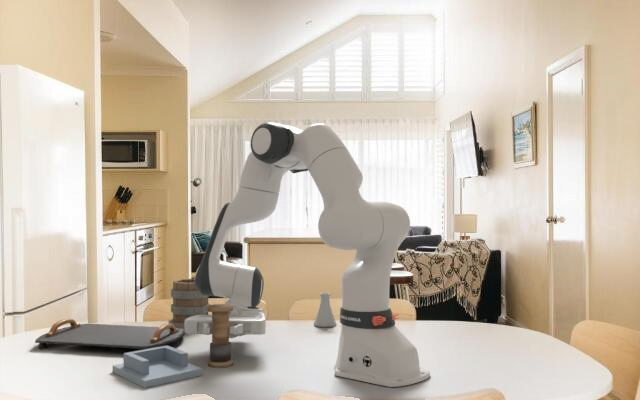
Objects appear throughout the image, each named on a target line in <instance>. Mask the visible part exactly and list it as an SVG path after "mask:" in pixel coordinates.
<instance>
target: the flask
mask: <svg viewBox="0 0 640 400" xmlns="http://www.w3.org/2000/svg"><path fill="white" fill-rule="evenodd" d="M319 296H320V301H319V303H320V304H319V307H318V311H317V313H316V316H315V319H314V322H313V326H315V327H320V328H321V327H322V328H329V327H332V328H333V327H335V326H337V325H338V324H337V322H336V320H335V317H334V314H333V313H334V312H333V310H332V307H331V303H330V296H331V293H329V292H320V293H319Z"/></svg>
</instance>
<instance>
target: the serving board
mask: <svg viewBox="0 0 640 400" xmlns="http://www.w3.org/2000/svg"><path fill="white" fill-rule="evenodd" d="M67 324H70V326H66V327H65V326H64V327H62V326H63V325H67ZM60 327H62V328H60ZM185 335H186V333H185V330H184V329H183V328H175V326H174V325H173V324H169V323H164V324H162V325H160V326H146V325H145V326H144V325H124V324H123V325H122V324H120V325H119V324H100V323H78V322H77V321H76V320H75V319H73V318H64V319H61V320H58V321H56V322H55V323H54V324H52V325H51V328H50V329H49V331H48V332H46V333H44V334H42V335H40V336H39V337H37V338H36V339H35V340H34V343H36V344H38V345H37V348H38V349H40V350H43V349H47V347H48V344H51V345H66V346H67V345H68V346H69V345H70V346H71V345H72V346H83V347H102V348H103V347H104V348H124V349H126V348H127V349H137V350H145V349H150V348H156V347H162V346H166V345H169V344H171V343H174V342H176V341H178V340H183V339H184V336H185Z"/></svg>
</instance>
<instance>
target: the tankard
mask: <svg viewBox="0 0 640 400" xmlns="http://www.w3.org/2000/svg"><path fill="white" fill-rule="evenodd" d="M170 296H171V298H172V304H170V312H171V313H172V318H171V319H168V324H173V325H174V326H175V328H183V329H184V322H185V319H187V318H189V317H191V316H194V315H209V311H208V306H209V305H211V304H210V303H209V298H210V296H207V295H202V294H201V293H200V292H199V290H198V289H197V288H196V286H195V278H185V279H184V278H181V279H176V280H173V282H172V288H171V289H170Z"/></svg>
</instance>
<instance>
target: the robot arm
mask: <svg viewBox="0 0 640 400" xmlns="http://www.w3.org/2000/svg"><path fill="white" fill-rule="evenodd" d="M250 149H251V152H249V154H248V155H247V157H246V161H245V162H244V166H243V168H242V171H241V176H240V179H239V184H238V185H239V186H238V189H237V192H236V194H235V196H234V198H233V199H232V200H231V201H229V202H226V203H225V204H224V205H223V206H222V208H221V210H220V212H219V214H218V216H217V219H216V222H215V223H214V227H213V230H212V232H211V235H210V238H209V240H208V243H207V246H206V248H205V251H204V254H203V257H202V259H201V262H200V264H199V266H198V268H197V269H196V272H195V275H194V279H195V286H196V288H197V289H198V290H199V292H200V293H201V294H202V295H207V296H209V297H219V298H225V299H228V300H227V301H225V303H224V304H231V305H233V311H229V339H234V338H237V337H242V336H245V335H247V336H248V335H259V336H260V335H265V334H266V330H267V329H266V327H267V323H266V322H267V319H266V317H267V316H266V314H265V312H264V308H263V307H258V306H259V304H260V303H261V299H262V296H263V292H264V283H265V281H264V277H263V275H262V273H261V271H260V270H259V268H258V267H257V266H256V267H255V266H249V265H245V264H239V263H233V262H229V261H224V260H221V254H222V252H223V249H224V247H225V244H226V241H227V238H228V237H229V236H228V235H229V233H230V232H231V230H233V229H234V228H235V227H238V226H241V225H246V224H252V223H257V222H261V221H263V220H265V219H267V218H269V217H270V216H271V215H272V214H273V213H274V212H275V210H276V206H277V203H278V200H279V196H280V189H281V183H282V182H281V181H282V178H283V176H284V175H285V174H286V173H287V172H288V171H290V173H292V174H297V173H301V172H302V173H303V172H309V174H310V176H311V177H312V180H313V181H314V184H315V185H316V188H317V189H318V191H319V194H320V195H321V198H322V201H323V210H322V211H321V214H320V215H319V219H318V224H317V227H318V228H317V229H318V234H319V236H320V238H321V240H322V242H323V243H324V244H325V245H326V246H327V247H329V248H333V249H337V250H344V251H353V250H354V251H355V250H356V251H355V255H354V257H353V260H352V262H351V263H350V265H349V266H348V267H347V268H346V269H345V270H344V271H343V272H342V277H341V307H340V309H339V322H340V324H341V328H340V329H341V330H340V335H339V342H338V343H339V344H338V351H337V358H336V361H335V366H334V375H335V376H336V377H341V378H346V379H350V380H355V381H359V382H360V381H361V382H365V383H371V384H374V385H378V386H384V387H387V388H388V387H389V388H393V387H394V388H395V387H397V388H398V387H404V386H409V385H413V384H417V383H419V382H423V381H425V380H427V379H428V378H429V377H430V375H431V373H430V372H431V371H430V370H429V369H427V368H423V367H421V366H420V358H419V352H418V349H417V347H416V346H415V345H414V344H413V343H412V342H411V341H410V340H409V339H408V338H407V337H406V336H405V334H403V332H401V331H400V330H399V328H398V327H397V325H396V321H395V320H398V319H399V313H394V314H393V312H392V309H391V307H390V287H391V285H390V283H391V274H392V273H391V272H392V268H393V264H394V260H395V257H396V255H397V252H398V249H399V248H400V246H401V245H402V243H403V242H404V240H405V239H406V238H407V237H408V235H409V233H410V230H411V220H410V216H409V214H408V212H407V211H406V209H404V207H402V206H400V205H398V204H395V203H392V202H388V201H367V200H365V199H364V198H363V197H362V195H361V193H360V188H361V187H362V183H363V177H364V176H363V173H362V171H361V170H360V168H359V166H358V165H357V163H356V161H355V160H354V158H353V156H352V155H351V153H350V151H349V149H348V148H347V146H346V145H345V143H344V141H342V140H341V138H340V137H339V135H338V134H337V133H336V132H335V131H334V130H333V129H332V128H331V127H330V126H329V125H328V124H325V123H321V122H320V123H313V124H310V125H309V126H307V127H306V128H304V129H300V128H297V127H295V126H292V125H287V124H281V123H277V122H264V123H261V124H259V125H258V126H257V127H256V128H255V129H254V130H253V133H252V134H251V138H250ZM184 330H185V334H187V335H193V334H194V335H204V336H205V335H207V336H210V335H211V336H212V314H208V315H194V316H191V317H189V318H187V319H185V322H184Z"/></svg>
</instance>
